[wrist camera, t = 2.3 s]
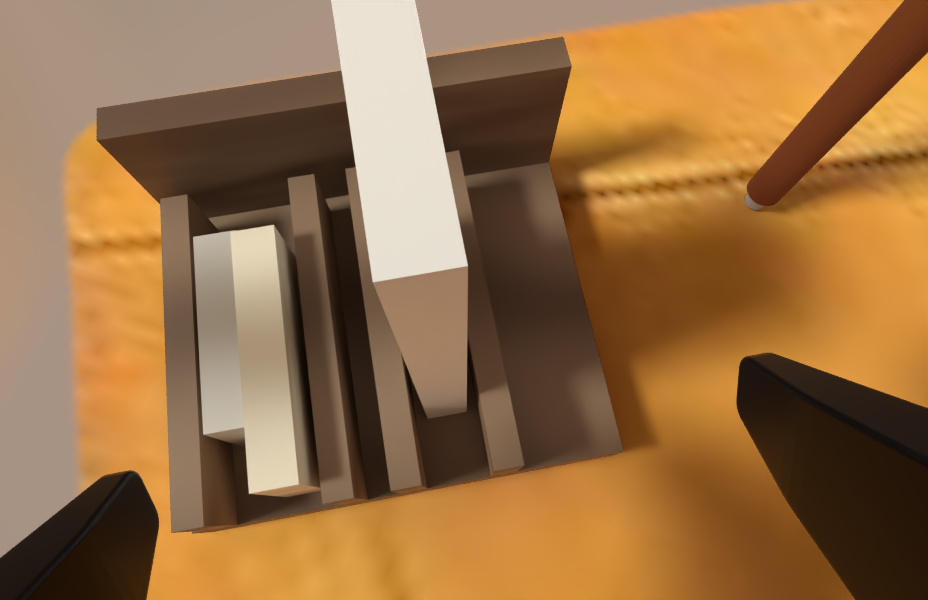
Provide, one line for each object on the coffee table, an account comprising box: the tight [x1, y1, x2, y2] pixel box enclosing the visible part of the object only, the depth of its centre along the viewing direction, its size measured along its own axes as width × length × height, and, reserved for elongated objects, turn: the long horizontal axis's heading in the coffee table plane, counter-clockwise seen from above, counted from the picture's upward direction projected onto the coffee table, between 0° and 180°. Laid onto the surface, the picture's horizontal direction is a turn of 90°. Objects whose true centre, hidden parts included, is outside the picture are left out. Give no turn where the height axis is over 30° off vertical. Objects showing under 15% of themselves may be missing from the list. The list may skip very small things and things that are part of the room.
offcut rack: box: [97, 37, 623, 534], centre depth 19 cm, size 11×13×6 cm
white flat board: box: [331, 0, 468, 419], centre depth 14 cm, size 5×1×12 cm, turn 10°
